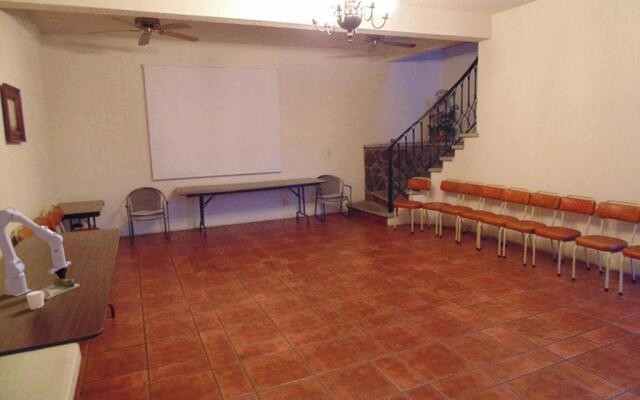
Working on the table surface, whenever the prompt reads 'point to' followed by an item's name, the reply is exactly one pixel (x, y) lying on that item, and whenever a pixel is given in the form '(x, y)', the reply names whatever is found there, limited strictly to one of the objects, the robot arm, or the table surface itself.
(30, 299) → the shot glass
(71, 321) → the table surface
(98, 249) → the table surface
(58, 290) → the seat
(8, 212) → the robot arm
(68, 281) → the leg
